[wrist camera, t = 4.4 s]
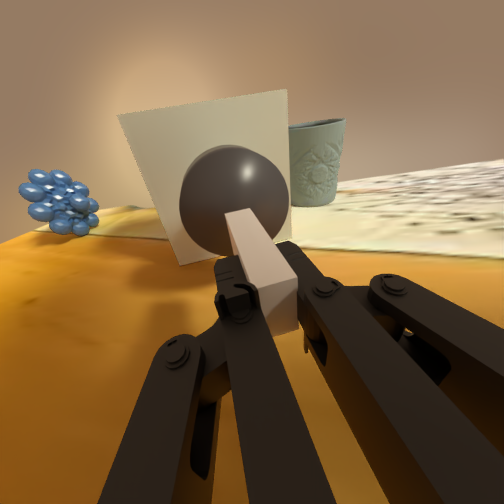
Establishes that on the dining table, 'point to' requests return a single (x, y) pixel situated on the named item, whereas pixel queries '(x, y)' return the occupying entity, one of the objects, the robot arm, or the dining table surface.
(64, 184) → the grapes
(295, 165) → the grey-green cup
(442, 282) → the dining table surface
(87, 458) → the dining table surface
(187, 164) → the cream rectangular block
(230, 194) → the knob
